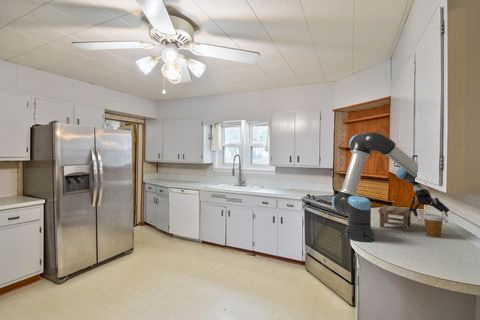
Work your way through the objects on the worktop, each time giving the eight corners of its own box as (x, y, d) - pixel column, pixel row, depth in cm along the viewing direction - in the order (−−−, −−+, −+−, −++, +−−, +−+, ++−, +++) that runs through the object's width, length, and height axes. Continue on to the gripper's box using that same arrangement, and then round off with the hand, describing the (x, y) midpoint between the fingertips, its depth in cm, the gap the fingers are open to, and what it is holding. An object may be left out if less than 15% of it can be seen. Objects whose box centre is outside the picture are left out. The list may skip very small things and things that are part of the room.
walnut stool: (378, 227, 157) (378, 209, 157) (384, 222, 169) (384, 205, 169) (408, 232, 147) (408, 212, 146) (411, 226, 158) (411, 208, 158)
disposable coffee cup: (436, 233, 143) (435, 213, 143) (448, 238, 134) (448, 217, 134) (419, 233, 144) (419, 213, 144) (430, 238, 135) (430, 217, 135)
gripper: (442, 196, 154) (455, 225, 140) (398, 194, 161) (407, 222, 147) (446, 189, 149) (461, 219, 135) (401, 188, 156) (410, 216, 142)
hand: (433, 221), depth 141 cm, fingers open, 13 cm apart
